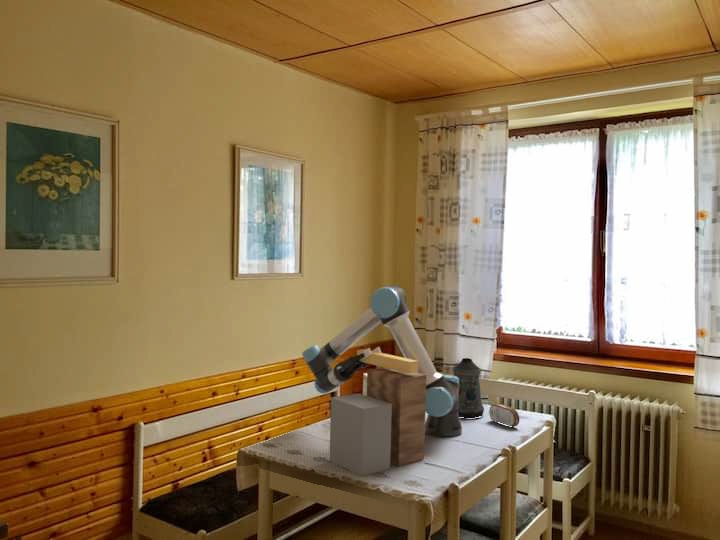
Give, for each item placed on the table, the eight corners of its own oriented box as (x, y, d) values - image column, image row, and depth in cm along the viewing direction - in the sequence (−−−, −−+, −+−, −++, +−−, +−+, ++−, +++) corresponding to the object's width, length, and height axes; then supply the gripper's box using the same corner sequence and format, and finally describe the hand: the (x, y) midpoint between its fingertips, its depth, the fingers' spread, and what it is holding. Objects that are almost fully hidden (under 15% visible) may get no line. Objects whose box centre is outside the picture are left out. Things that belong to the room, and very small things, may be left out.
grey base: (329, 460, 214) (331, 397, 214) (356, 454, 222) (358, 393, 221) (362, 476, 200) (364, 408, 200) (389, 468, 208) (391, 403, 207)
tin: (519, 429, 260) (520, 409, 259) (514, 430, 258) (515, 410, 257) (492, 420, 272) (493, 401, 272) (487, 421, 270) (488, 402, 270)
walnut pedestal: (365, 452, 225) (367, 369, 223) (389, 446, 232) (392, 366, 231) (398, 466, 211) (401, 378, 210) (423, 459, 218) (426, 374, 217)
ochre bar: (356, 360, 235) (357, 350, 234) (364, 359, 237) (365, 349, 237) (409, 373, 212) (409, 362, 212) (418, 372, 214) (418, 360, 214)
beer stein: (459, 420, 269) (461, 363, 268) (436, 409, 287) (438, 356, 286) (491, 417, 276) (493, 361, 275) (466, 407, 294) (468, 354, 293)
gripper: (360, 379, 249) (395, 358, 233) (326, 384, 239) (360, 362, 223) (355, 362, 252) (389, 339, 236) (321, 366, 241) (354, 343, 225)
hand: (374, 350), depth 229 cm, fingers closed on ochre bar, 4 cm apart
